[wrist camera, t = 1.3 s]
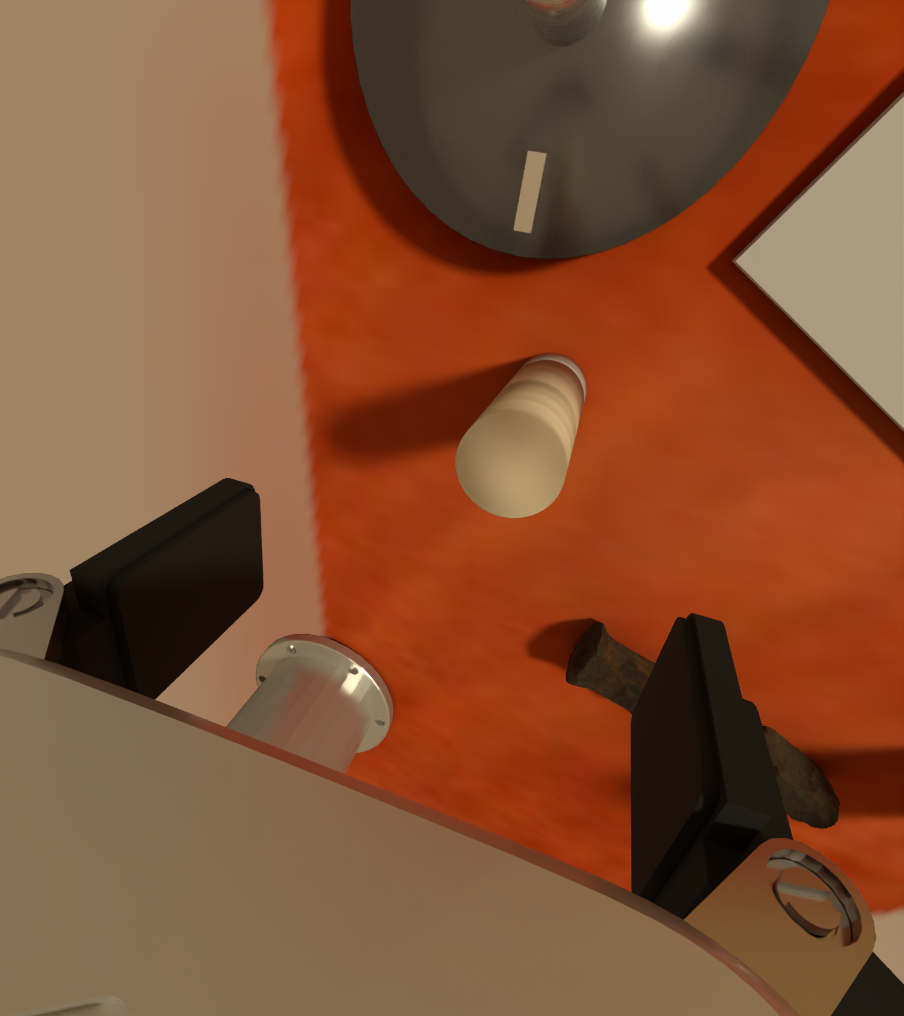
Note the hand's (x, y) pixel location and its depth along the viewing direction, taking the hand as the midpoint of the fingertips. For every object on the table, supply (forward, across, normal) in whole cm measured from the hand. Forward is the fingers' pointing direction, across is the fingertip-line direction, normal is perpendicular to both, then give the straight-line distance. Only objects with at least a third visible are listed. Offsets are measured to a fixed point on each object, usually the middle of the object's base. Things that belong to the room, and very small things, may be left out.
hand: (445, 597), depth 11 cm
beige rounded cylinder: (+20, 0, +1) cm, 20 cm away
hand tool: (+21, -15, +18) cm, 31 cm away
